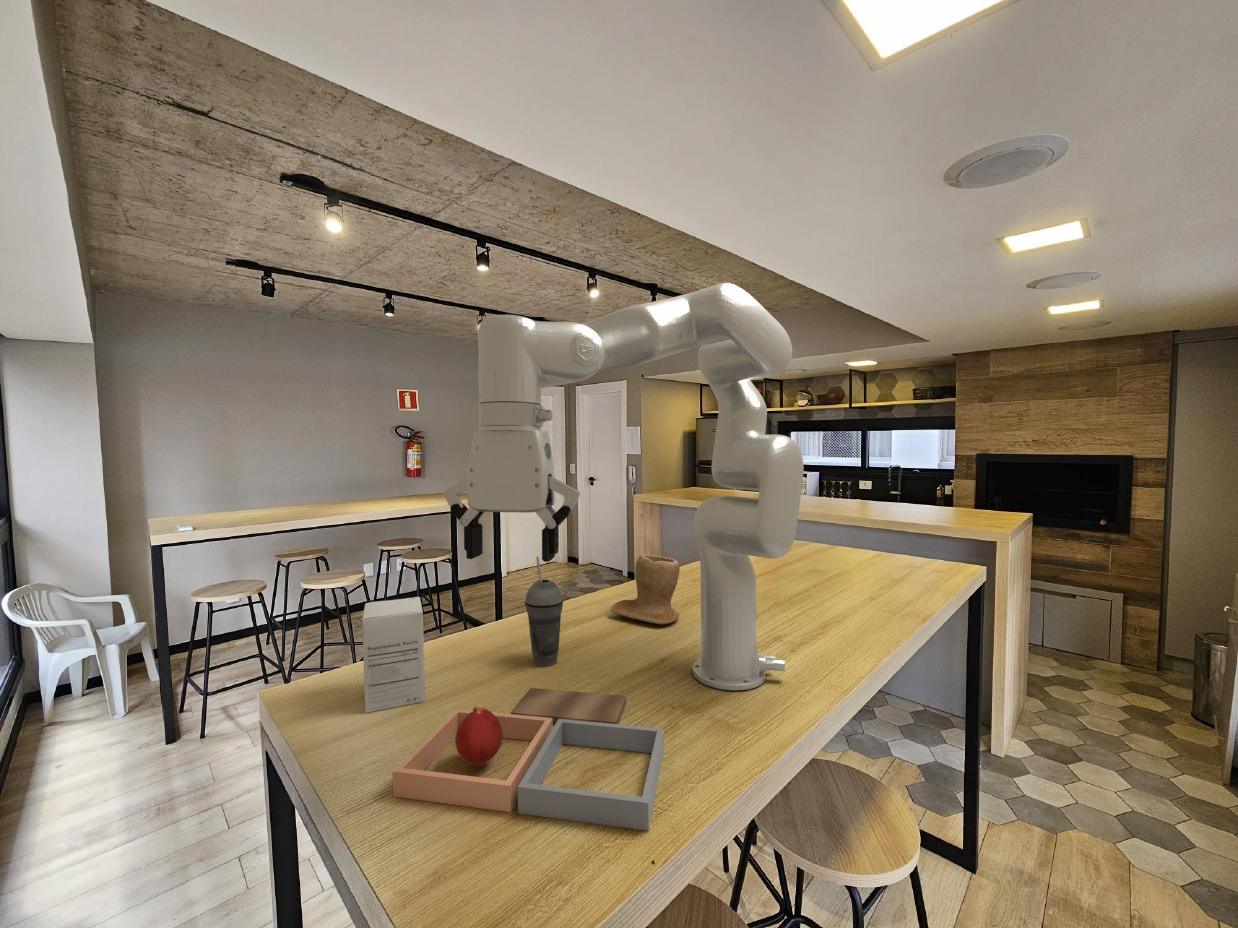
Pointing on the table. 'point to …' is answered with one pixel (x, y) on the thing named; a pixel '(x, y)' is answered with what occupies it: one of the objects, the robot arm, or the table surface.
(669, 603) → the brown boot-shaped piece
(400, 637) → the supplement box
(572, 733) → the frame
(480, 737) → the onion
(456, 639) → the table surface
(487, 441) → the robot arm
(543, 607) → the beverage cup
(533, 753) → the terracotta crate
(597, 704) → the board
